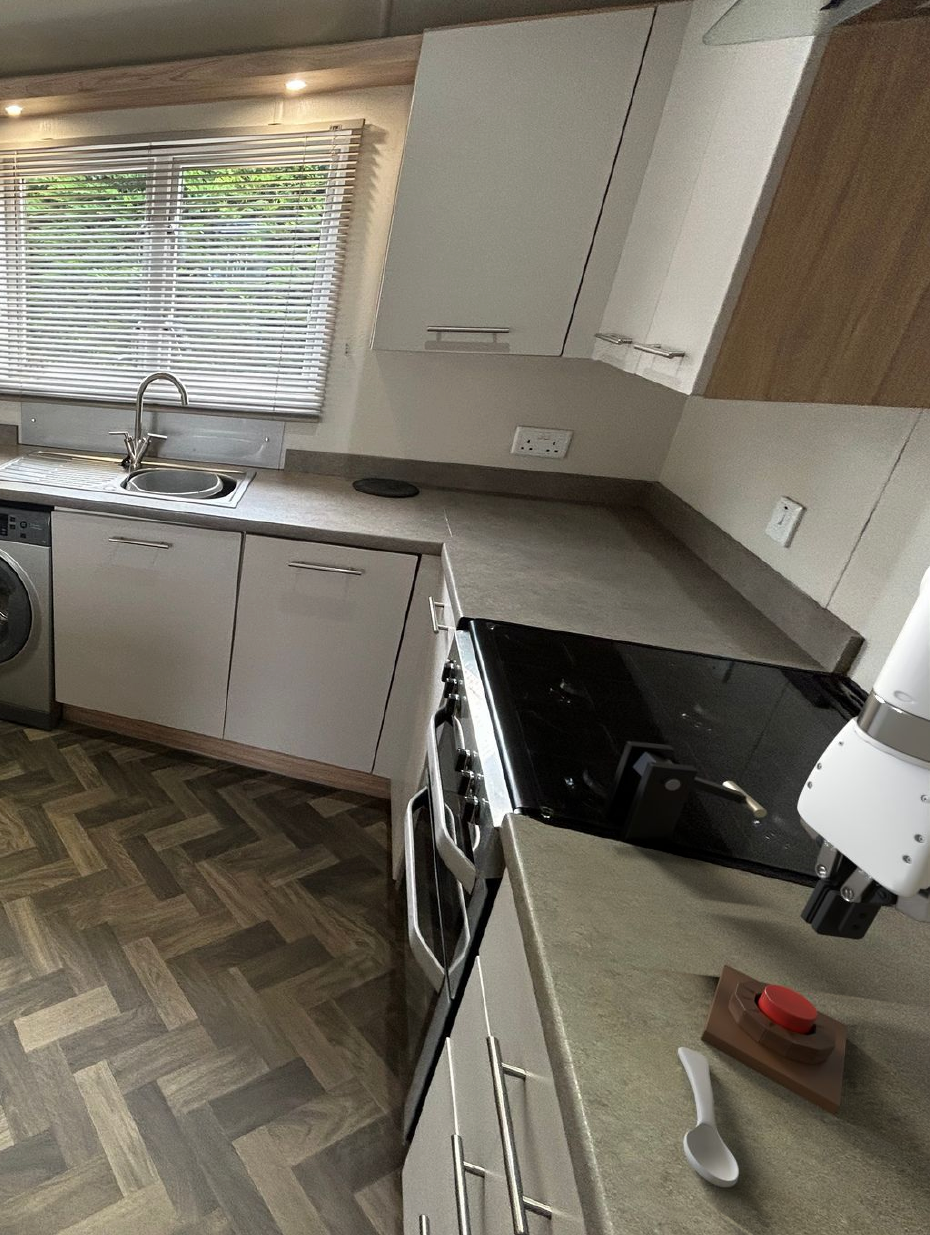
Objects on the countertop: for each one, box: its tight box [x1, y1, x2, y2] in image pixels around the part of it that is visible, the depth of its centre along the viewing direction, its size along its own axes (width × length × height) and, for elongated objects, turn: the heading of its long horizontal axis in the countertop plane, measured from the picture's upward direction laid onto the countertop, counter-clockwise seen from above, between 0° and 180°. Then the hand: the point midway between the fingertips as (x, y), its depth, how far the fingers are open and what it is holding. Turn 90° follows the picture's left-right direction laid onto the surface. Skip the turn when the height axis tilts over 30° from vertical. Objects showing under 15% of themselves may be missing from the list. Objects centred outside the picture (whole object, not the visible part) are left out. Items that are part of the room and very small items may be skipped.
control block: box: [700, 963, 848, 1116], centre depth 60 cm, size 10×8×3 cm
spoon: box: [677, 1046, 740, 1188], centre depth 54 cm, size 3×12×2 cm, turn 145°
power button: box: [758, 984, 818, 1034], centre depth 59 cm, size 3×3×2 cm
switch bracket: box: [600, 740, 699, 847], centre depth 81 cm, size 11×9×12 cm
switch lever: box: [633, 751, 768, 819], centre depth 79 cm, size 12×5×2 cm, turn 80°
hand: (829, 928), depth 56 cm, fingers closed
